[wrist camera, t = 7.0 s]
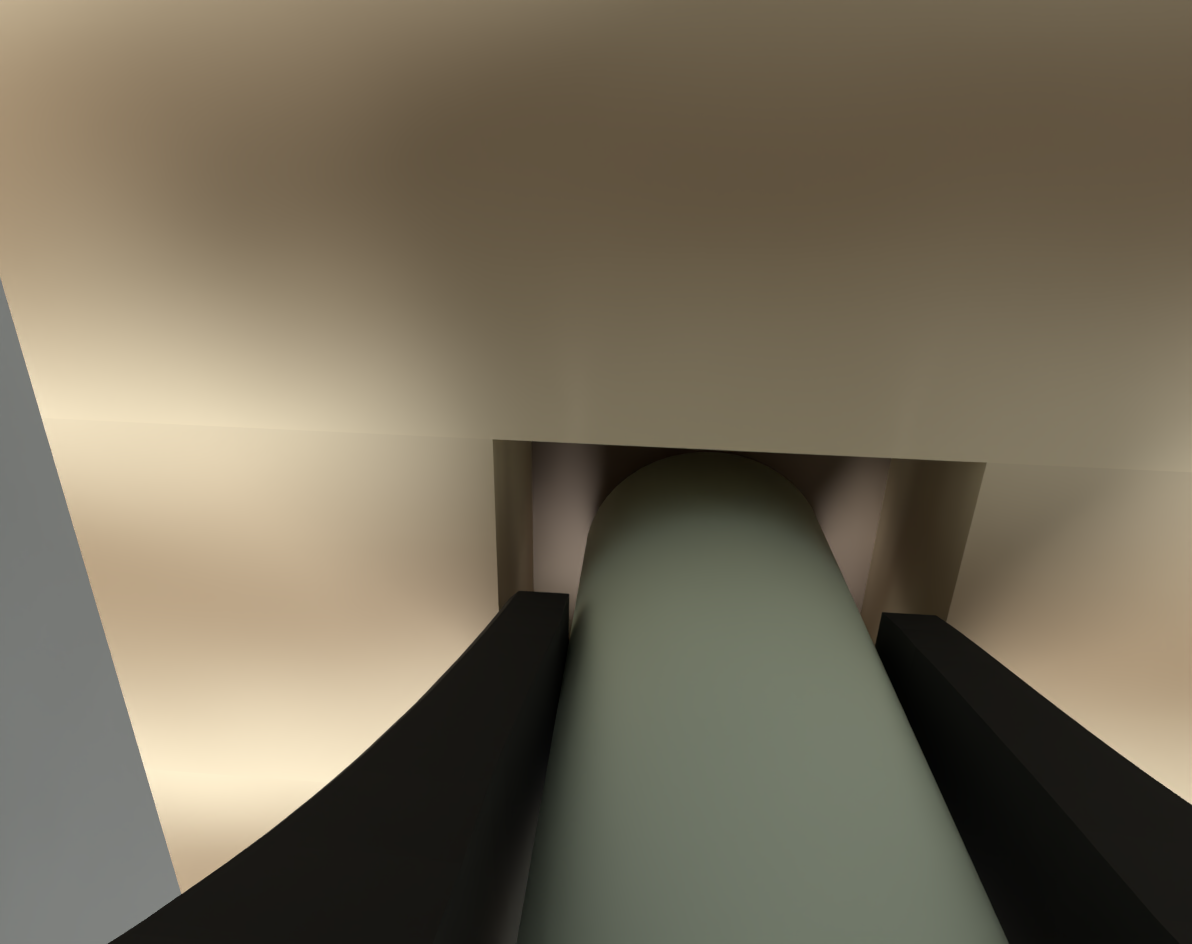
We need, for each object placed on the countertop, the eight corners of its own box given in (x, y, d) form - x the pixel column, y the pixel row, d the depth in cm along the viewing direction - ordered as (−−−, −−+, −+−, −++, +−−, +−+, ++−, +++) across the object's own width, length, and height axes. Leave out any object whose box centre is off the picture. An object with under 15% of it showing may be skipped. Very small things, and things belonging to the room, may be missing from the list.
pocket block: (1071, 912, 15) (1167, 1087, 12) (289, 849, 16) (212, 999, 13) (1469, -50, 8) (1875, -153, 6) (106, -63, 9) (-127, -155, 6)
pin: (814, 659, 12) (1083, 1500, 4) (589, 657, 12) (491, 1440, 5) (834, 450, 10) (1276, 1169, 3) (579, 453, 11) (412, 1114, 3)
